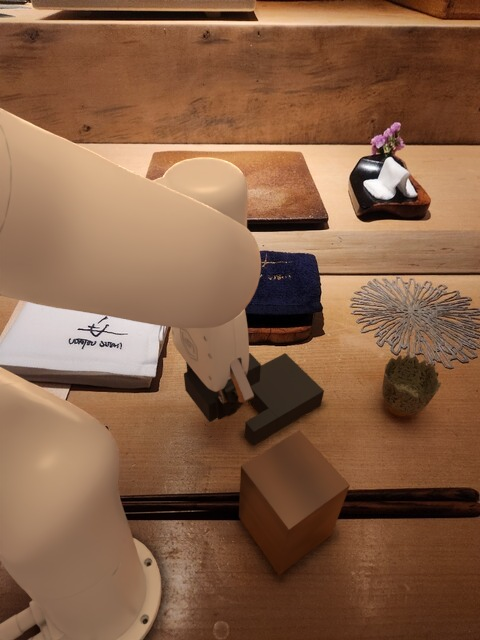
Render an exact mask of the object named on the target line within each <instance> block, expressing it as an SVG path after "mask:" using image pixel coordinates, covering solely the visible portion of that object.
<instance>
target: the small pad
mask: <svg viewBox="0 0 480 640" xmlns="http://www.w3.org/2000/svg"><path fill="white" fill-rule="evenodd" d="M261 365H262V364H261V363H260V362H259V361H258V360H257V359H256V357H255V356H254V355H253V354H252V353H251V352H249V366H248V372H247V375H246V377H247V380H248V382H249V384H250V386H252V385H254V384H256V383H258V382H259V381H260V370H261ZM183 379H184V380H183V381H184V388H185V392H186V394H188V396H189V397H190V399H191V401H193V402H194V404H195V406H196V407H197V408H198V409H199V410H200V412H201V413H202V415H203V416H204V417H205V419H206V420H207V421H208V423H212V422H213V421H215V420H218V418H217V417H216V407H215V397H216V396H218V393H217V392H215V391H212V390H210V389H209V388H208V387H207V386H206V385H205V384H204V383H203V382H202V381H201V379H200V378H199V377H198V376H197V374H196V373H195V372H194V371H193V370H189V371H187V370H186V371H185V372H184V373H183ZM231 386H233V382H232V380H230V381H229V382H227V384H226V386H225V387H224V388H225V389H227V388H229V387H231ZM243 404H244V403H242V402H240V406H242V405H243Z"/></svg>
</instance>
